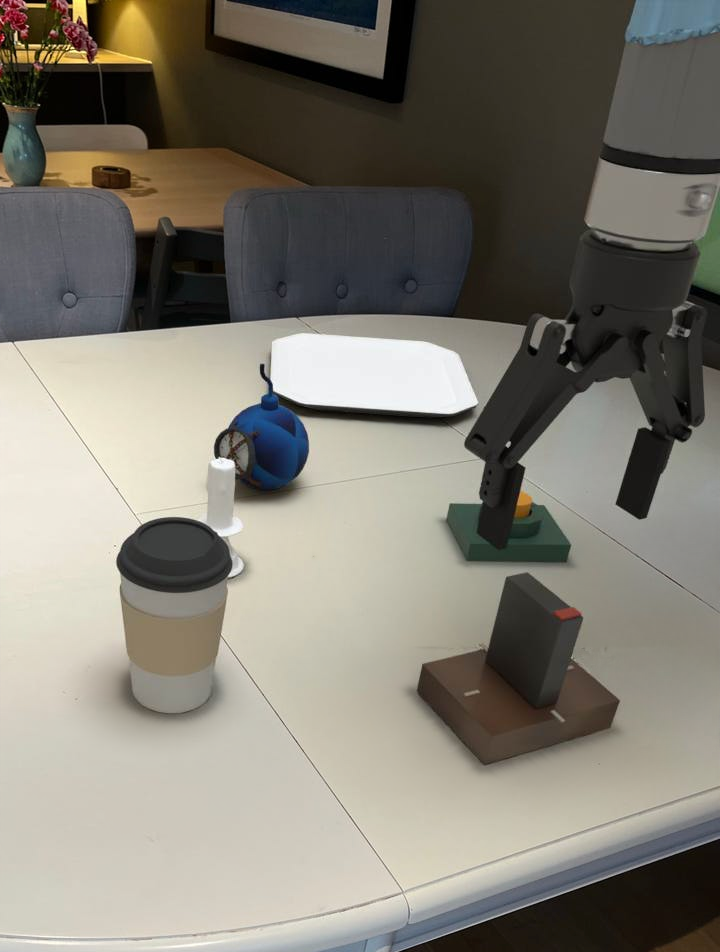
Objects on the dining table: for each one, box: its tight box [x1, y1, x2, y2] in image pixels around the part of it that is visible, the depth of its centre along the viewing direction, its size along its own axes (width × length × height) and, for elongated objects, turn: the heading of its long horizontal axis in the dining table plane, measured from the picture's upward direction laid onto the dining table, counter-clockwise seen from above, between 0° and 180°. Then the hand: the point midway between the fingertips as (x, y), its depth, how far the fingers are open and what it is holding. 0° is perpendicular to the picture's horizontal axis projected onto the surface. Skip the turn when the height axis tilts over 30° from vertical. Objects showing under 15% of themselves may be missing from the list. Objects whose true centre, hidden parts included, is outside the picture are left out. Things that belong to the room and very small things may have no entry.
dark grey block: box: [485, 571, 584, 708], centre depth 80 cm, size 7×2×9 cm, turn 24°
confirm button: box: [514, 490, 533, 518], centre depth 106 cm, size 4×4×2 cm
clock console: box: [416, 642, 621, 765], centre depth 84 cm, size 13×11×3 cm
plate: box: [269, 332, 479, 419], centre depth 145 cm, size 29×29×2 cm
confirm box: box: [445, 501, 572, 563], centre depth 108 cm, size 11×9×4 cm
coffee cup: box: [115, 516, 233, 714], centre depth 80 cm, size 9×9×15 cm
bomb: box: [213, 363, 310, 491], centre depth 112 cm, size 10×11×15 cm
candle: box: [196, 457, 245, 579], centre depth 97 cm, size 5×5×12 cm
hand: (563, 526), depth 76 cm, fingers open, 13 cm apart
